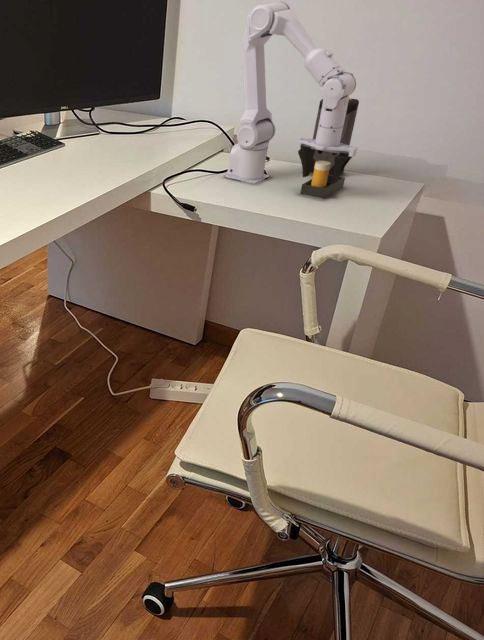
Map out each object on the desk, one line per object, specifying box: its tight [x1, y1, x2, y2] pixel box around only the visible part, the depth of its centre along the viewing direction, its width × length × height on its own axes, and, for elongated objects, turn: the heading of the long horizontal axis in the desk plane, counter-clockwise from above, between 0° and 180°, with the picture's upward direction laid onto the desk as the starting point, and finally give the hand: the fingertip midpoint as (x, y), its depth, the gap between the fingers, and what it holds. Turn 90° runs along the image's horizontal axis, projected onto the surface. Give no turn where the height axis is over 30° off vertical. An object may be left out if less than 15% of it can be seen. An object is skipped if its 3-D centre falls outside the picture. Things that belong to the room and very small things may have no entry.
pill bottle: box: [311, 161, 331, 188], centre depth 172 cm, size 4×4×8 cm
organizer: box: [300, 174, 346, 200], centre depth 175 cm, size 6×12×3 cm, turn 133°
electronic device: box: [309, 97, 360, 177], centre depth 182 cm, size 9×6×20 cm, turn 58°
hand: (319, 179), depth 172 cm, fingers open, 7 cm apart
